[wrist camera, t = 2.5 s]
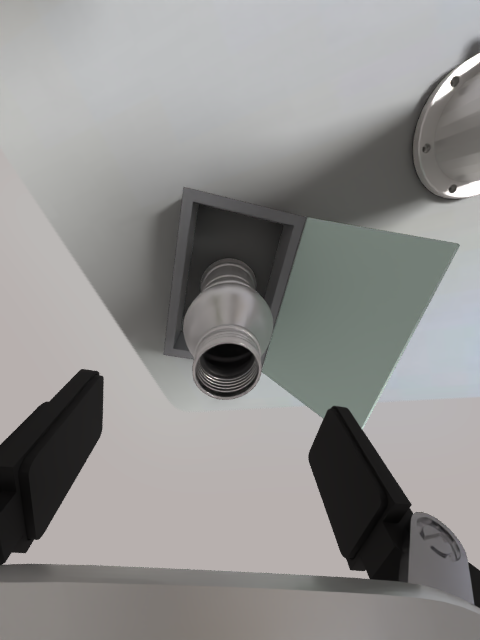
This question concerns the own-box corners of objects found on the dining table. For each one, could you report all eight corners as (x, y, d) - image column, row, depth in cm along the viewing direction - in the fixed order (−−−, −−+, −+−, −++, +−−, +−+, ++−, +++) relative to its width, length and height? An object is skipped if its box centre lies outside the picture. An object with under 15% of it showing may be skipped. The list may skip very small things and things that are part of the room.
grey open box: (191, 192, 27) (183, 186, 23) (294, 217, 29) (306, 217, 24) (172, 335, 34) (163, 354, 29) (257, 350, 35) (261, 370, 31)
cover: (458, 243, 16) (459, 245, 17) (307, 217, 24) (312, 219, 25) (354, 441, 23) (358, 437, 24) (261, 371, 30) (266, 369, 31)
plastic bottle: (191, 284, 31) (136, 380, 13) (226, 243, 30) (220, 283, 11) (230, 315, 33) (231, 439, 15) (265, 278, 31) (316, 363, 13)
